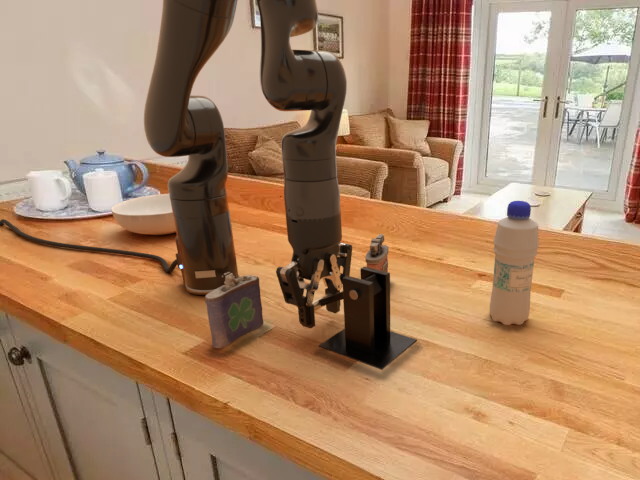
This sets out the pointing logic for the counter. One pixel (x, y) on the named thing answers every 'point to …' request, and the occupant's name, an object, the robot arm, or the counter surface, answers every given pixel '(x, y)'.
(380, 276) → the bracket
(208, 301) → the flask
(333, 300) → the lever
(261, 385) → the counter surface
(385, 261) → the lighter
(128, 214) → the serving bowl
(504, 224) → the bottle
